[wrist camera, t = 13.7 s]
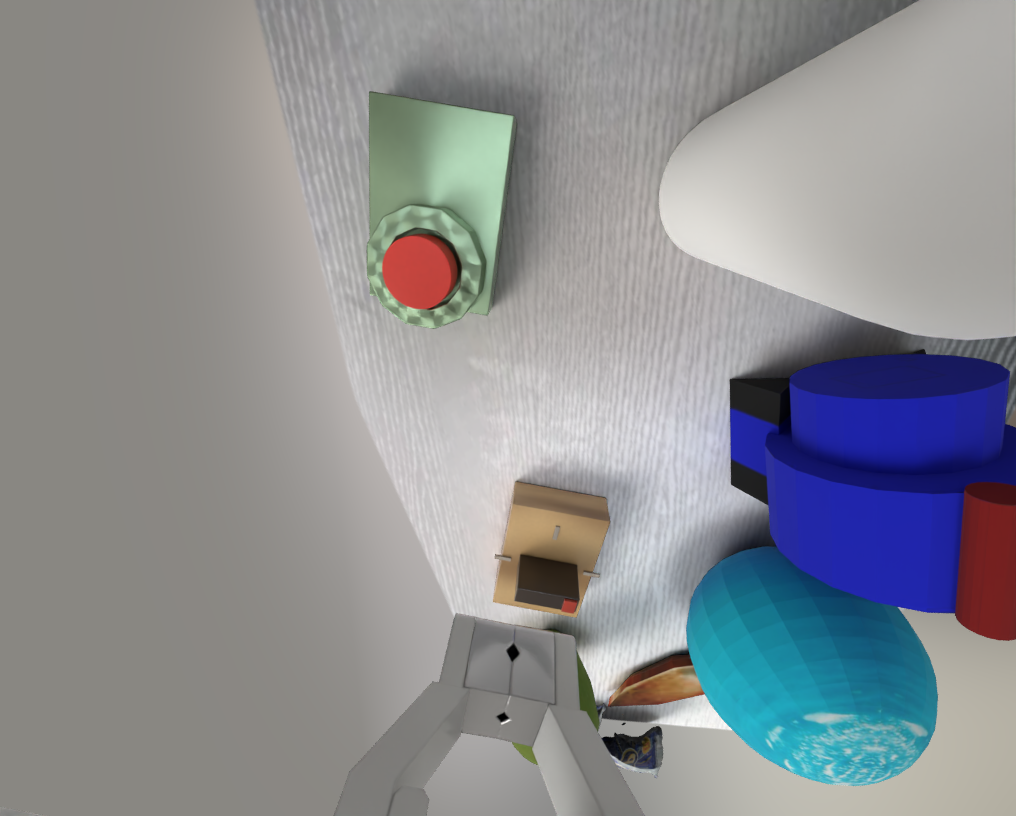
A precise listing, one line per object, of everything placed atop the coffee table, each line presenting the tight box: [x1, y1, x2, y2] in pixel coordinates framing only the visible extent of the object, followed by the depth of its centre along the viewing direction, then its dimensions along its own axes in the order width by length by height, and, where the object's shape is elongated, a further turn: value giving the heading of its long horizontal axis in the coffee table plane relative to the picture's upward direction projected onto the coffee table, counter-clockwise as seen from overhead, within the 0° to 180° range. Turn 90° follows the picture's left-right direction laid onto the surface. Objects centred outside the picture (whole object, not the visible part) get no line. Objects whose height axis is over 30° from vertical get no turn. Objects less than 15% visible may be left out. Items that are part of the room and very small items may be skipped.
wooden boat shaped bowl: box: [608, 655, 705, 706], centre depth 44 cm, size 14×6×2 cm, turn 122°
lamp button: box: [382, 234, 457, 309], centre depth 24 cm, size 4×4×2 cm
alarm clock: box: [730, 349, 1016, 641], centre depth 23 cm, size 12×12×15 cm
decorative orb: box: [686, 546, 938, 786], centre depth 31 cm, size 15×15×15 cm
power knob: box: [514, 555, 580, 614], centre depth 34 cm, size 5×2×4 cm, turn 81°
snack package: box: [597, 703, 663, 778], centre depth 48 cm, size 12×6×12 cm
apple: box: [512, 629, 600, 765], centre depth 39 cm, size 9×8×12 cm
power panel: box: [493, 482, 610, 617], centre depth 37 cm, size 12×9×3 cm
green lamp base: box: [367, 91, 517, 329], centre depth 25 cm, size 12×8×4 cm, turn 171°
